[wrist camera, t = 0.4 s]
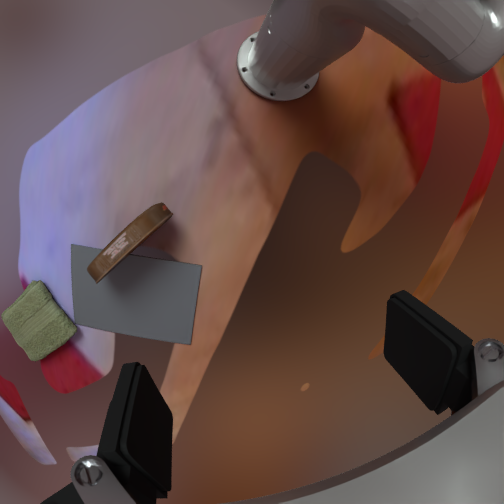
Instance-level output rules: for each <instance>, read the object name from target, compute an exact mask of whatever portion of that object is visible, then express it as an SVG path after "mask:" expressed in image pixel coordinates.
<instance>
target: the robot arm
mask: <svg viewBox="0 0 504 504" xmlns="http://www.w3.org/2000/svg"><path fill="white" fill-rule="evenodd" d="M365 26H366V27H368V28H370V29H371V30H373V31H374V32H376V33H377V34H380V35H382V36H383V37H385V38H386V39H388V40H389V41H391V42H392V43H393V44H395V45H396V46H398V47H399V48H400V49H402V50H403V51H404V52H406V53H407V54H408V55H409V56H411V57H412V58H413V59H415V60H416V61H417V62H418V63H420V64H421V65H422V66H423V67H425V68H426V69H427V70H428V71H430V72H431V73H432V74H434V75H435V76H437V77H439V78H440V79H443V80H445V81H448V82H451V83H465V82H469V81H472V80H475V79H476V78H478V77H480V76H482V75H483V74H485V73H486V72H487V71H488V70H490V69H491V68H492V67H493V66H494V65H495V64H496V63H497V62H498V61H499V60H500V58H501V57H502V56H503V55H504V0H274V1H273V3H272V5H271V7H270V9H269V11H268V13H267V15H266V18H265V20H264V22H263V24H262V26H261V28H260V30H259V32H256V33H254V34H253V35H251V36H249V37H248V38H247V39H246V40H245V41H244V42H243V44H242V45H241V47H240V49H239V52H238V55H237V68H238V72H239V75H240V77H241V79H242V80H243V82H244V83H245V84H246V85H247V86H248V87H249V88H250V89H251V90H252V91H253V92H255V93H256V94H258V95H260V96H262V97H264V98H267V99H270V100H275V101H290V100H295V99H297V98H300V97H302V96H303V95H305V94H307V93H308V92H309V91H310V90H311V89H312V88H313V87H314V85H315V84H316V82H317V80H318V77H319V72H320V71H321V70H323V69H324V68H326V67H327V66H328V65H330V64H331V63H333V62H334V61H336V60H337V59H339V58H340V57H342V56H343V55H345V54H346V53H348V52H349V51H351V50H352V49H353V48H354V47H355V46H356V45H357V44H358V43H359V42H360V40H361V38H362V36H363V33H364V30H365ZM251 41H253V42H251ZM242 70H245V72H243V71H242ZM305 87H306V89H305ZM271 93H272V94H273V96H271V95H270V94H271ZM472 341H473V340H472V339H470V338H469V337H468V336H467V335H465V334H464V333H463V332H461V331H460V330H459V329H457V328H456V327H455V326H453V325H452V324H451V323H449V322H448V321H447V320H445V319H444V318H443V317H441V316H440V315H439V314H437V313H436V312H435V311H433V310H432V309H430V308H429V307H428V306H426V305H425V304H424V303H422V302H421V301H419V300H418V299H417V298H415V297H414V296H412V295H411V294H409V293H408V292H407V291H405V290H402V291H400V292H397V293H395V294H392V295H391V296H390V299H389V300H388V301H387V314H386V330H385V342H384V356H385V359H386V360H387V361H388V362H389V363H390V365H391V366H392V367H393V368H394V369H395V370H396V371H397V373H398V374H399V375H400V376H401V377H402V378H403V379H404V381H405V382H406V383H407V384H408V385H409V386H410V388H411V389H412V390H413V391H414V392H415V393H416V395H417V396H418V397H419V398H420V399H421V401H422V402H423V403H424V404H425V405H426V406H427V408H428V409H429V410H434V411H435V413H436V414H437V415H438V414H440V413H442V412H443V411H445V410H446V409H447V408H448V407H449V408H450V409H451V410H452V411H451V416H450V417H449V418H447V419H446V420H444V421H443V422H441V423H440V424H438V425H436V426H435V427H433V428H432V429H430V430H429V431H427V432H425V433H424V434H422V435H421V436H419V437H417V438H415V439H414V440H412V441H410V442H408V443H406V444H404V445H403V446H401V447H399V448H397V449H395V450H393V451H391V452H389V453H387V454H385V455H383V456H381V457H379V458H377V459H375V460H372V461H370V462H368V463H366V464H363V465H361V466H359V467H357V468H354V469H352V470H349V471H347V472H344V473H341V474H339V475H336V476H333V477H331V478H328V479H325V480H322V481H319V482H316V483H313V484H310V485H306V486H303V487H300V488H296V489H292V490H289V491H285V492H281V493H277V494H273V495H268V496H263V497H258V498H253V499H248V500H242V501H236V502H229V503H222V504H504V345H503V344H502V343H501V342H500V341H498V340H495V339H490V338H488V339H483V340H480V341H479V342H478V343H476V345H475V347H474V346H473V345H472ZM172 429H173V416H172V413H171V410H170V409H169V407H168V405H167V404H166V402H165V400H164V399H163V397H162V395H161V394H160V392H159V390H158V388H157V387H156V385H155V383H154V381H153V379H152V378H151V376H150V374H149V372H148V370H147V368H146V367H145V365H141V364H140V363H138V362H133V363H126V364H123V366H122V369H121V372H120V376H119V379H118V382H117V385H116V389H115V392H114V395H113V399H112V401H111V402H110V406H109V409H108V412H107V416H106V419H105V424H104V427H103V431H102V435H101V439H100V443H99V447H98V452H97V456H92V455H89V456H84V457H82V458H80V459H79V460H77V461H76V462H75V464H74V465H73V467H72V470H71V479H72V482H71V483H70V484H68V485H67V486H66V487H64V488H63V489H61V490H60V491H58V492H57V493H55V494H53V495H52V496H50V497H49V498H47V499H46V500H44V501H43V502H42V503H41V504H156V498H167V491H170V490H171V467H172V462H171V461H172Z"/></svg>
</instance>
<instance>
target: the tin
mask: <svg viewBox="0 0 504 504" xmlns="http://www.w3.org/2000/svg"><path fill="white" fill-rule="evenodd" d="M172 215H173V213H171V212H170V210H169V209H168V208H167V207H166V205H165V204H164V203H159V204H155V205H153V206H151V207H150V208H148V209H147V210H146V211H144V212H143V213H142V214H141V215H139V216H138V217H137V218H136V219H135V220H134V221H132V222H131V223H130V224H129V225H128V226H127V227H126V228H125V229H124V230H123V231H122V232H121V233H119V234H118V235H117V236H116V237H115V238H114V239H113V240H112V241H111V242H110V243H109V244H108V245H107V246H106V247H105V248H104V249H103V250H102V251H101V252H100V253H99V254H98V255H97V256H96V258H95V259H94V260H93V261H92V262H91V263H90V264H89V266H88V267H87V271H88V273H89V274H90V276H91V277H92V278H93V279H94V280H95V282H96V284H97V283H98V282H100V281H101V280H102V279H103V278H104V277H105V276H106V275H107V274H108V273H110V272H111V271H112V270H113V269H114V268H115V267H116V266H117V265H119V264H120V263H121V262H122V261H123V260H124V259H125V258H126V257H127V256H128V255H129V254H130V253H132V252H133V251H134V250H135V249H136V248H137V247H138V246H139V245H140V244H141V243H143V242H144V241H145V240H146V239H147V238H148V237H149V236H150V235H152V234H153V233H154V232H155V231H156V230H157V229H158V228H160V227H161V226H162V225H163V224H164V223H165V222H166V221H167V220H168V219H169V218H171V216H172Z"/></svg>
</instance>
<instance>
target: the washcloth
mask: <svg viewBox="0 0 504 504" xmlns="http://www.w3.org/2000/svg"><path fill="white" fill-rule="evenodd" d="M1 316H2V320H3V321H4V323H5V325H6V326H7V328H8V329H9V330H10V332H11V333H12V335H13V337H14V339H15V340H16V342H17V343H18V345H19V346H21V347H22V348H23V349H24V350H25V352H26V353H27V355H28V357H29V359H30V360H32V361H38V360H40V359H43V358H44V357H45V358H46V356H47V355H49V353H51V352H52V351H54V350H56V349H57V348H58V347H60V346H62V345H63V344H65V343H66V342H67V341H68V340H69V339H70V338H71V337H72V336H73V335H74V334H75V333H76V332H77V327H76V326H75V325H74V324H73V322H72V321H71V320H70V319H69V318H68V317H67V315H66V314H65V313H64V311H63V309H60V308H59V306H58V305H57V304H56V302H55V301H54V300H53V299H52V295H51V294H50V293H49V292H48V289H47V288H46V287H45V285H44V283H43V282H42V281H41V280H39V281H38V282H37V281H32V283H31V284H29V286H28V287H27V288H26V289H25V291H24V292H23V294H22V295H21V296H20V297H19V298H18V299H17V300H16V301H15V302H14V304H12V306H10V307H8V309H6V310H5V311H4V312H3V314H2V315H1Z"/></svg>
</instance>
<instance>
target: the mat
mask: <svg viewBox="0 0 504 504" xmlns="http://www.w3.org/2000/svg"><path fill="white" fill-rule="evenodd" d="M102 250H103V249H97V248H91V247H86V246H80V245H74V244H71V275H72V295H73V308H74V319H75V324H80V325H84V326H88V327H92V328H97V329H101V330H106V331H111V332H116V333H121V334H126V335H131V336H137V337H142V338H149V339H154V340H161V341H168V342H174V343H181V344H189V345H190V344H191V337H192V329H193V321H194V314H195V307H196V300H197V293H198V287H199V280H200V274H201V267H202V265H196V264H189V263H182V262H176V261H170V260H163V259H157V258H151V257H144V256H138V255H132V254H129V255H128V256H127V257H126V258H125V259H124V260H123V261H122V262H121V263H120V264H119V265H117V266H116V267H115V268H114V269H113V270H112V271H111V272H110V273H108V274H107V275H106V276H105V277H104V278H103V279H102V280H101V281H100V282H98V283H97V284H96V282H95V280H94V279H93V278H92V277H91V276H90V274H89V273H88V271H87V267H88V266H89V264H90V263H91V262H92V261H93V260H94V259H95V258H96V256H97V255H98V254H99V253H100V252H101V251H102Z"/></svg>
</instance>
